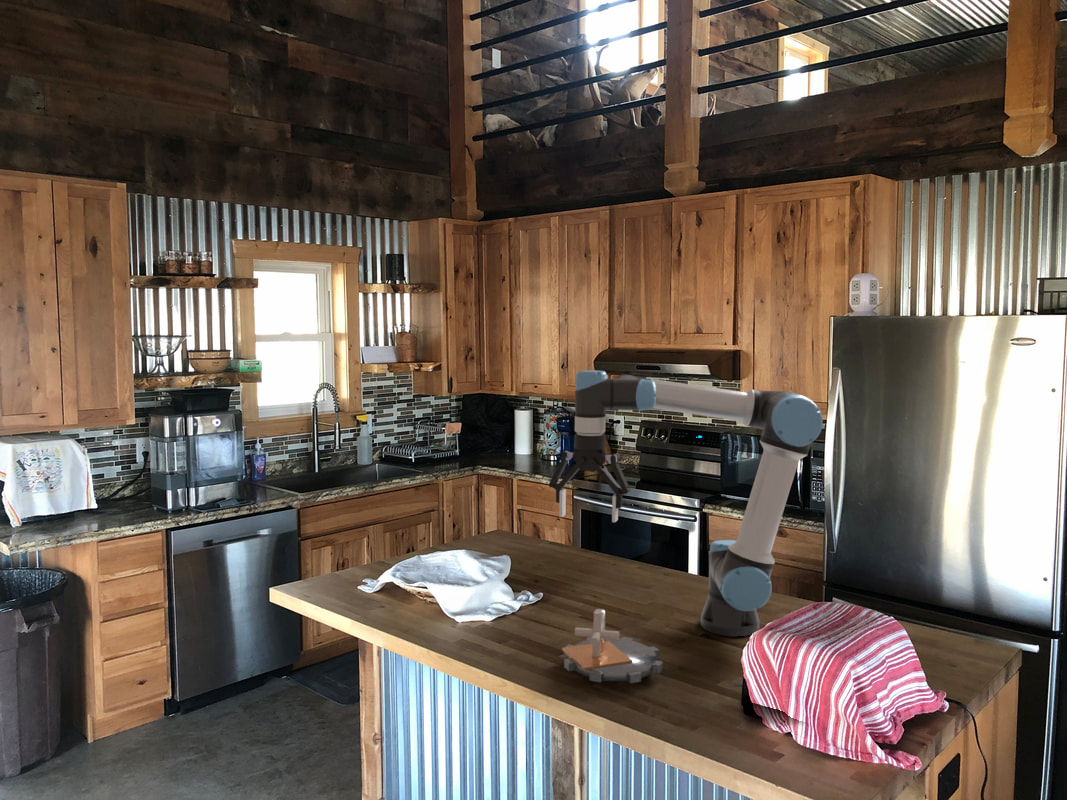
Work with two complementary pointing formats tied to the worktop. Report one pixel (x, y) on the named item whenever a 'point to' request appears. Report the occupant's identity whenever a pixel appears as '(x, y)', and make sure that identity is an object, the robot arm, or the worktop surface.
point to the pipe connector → (596, 633)
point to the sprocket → (613, 659)
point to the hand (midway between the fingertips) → (588, 518)
